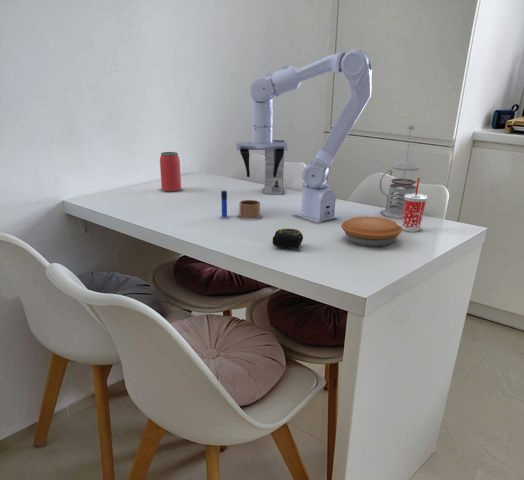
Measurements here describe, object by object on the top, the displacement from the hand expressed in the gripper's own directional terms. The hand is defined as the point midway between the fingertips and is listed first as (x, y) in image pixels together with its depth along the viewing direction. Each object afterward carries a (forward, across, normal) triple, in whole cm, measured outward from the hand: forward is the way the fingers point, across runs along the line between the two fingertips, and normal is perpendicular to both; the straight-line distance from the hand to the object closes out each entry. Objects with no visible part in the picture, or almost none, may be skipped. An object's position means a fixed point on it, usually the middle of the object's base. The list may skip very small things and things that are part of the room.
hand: (261, 176), depth 157 cm
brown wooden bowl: (+10, -4, -6) cm, 12 cm away
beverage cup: (+11, +40, -18) cm, 45 cm away
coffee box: (+11, +7, +28) cm, 30 cm away
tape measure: (+11, +4, -34) cm, 35 cm away
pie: (+11, +26, -28) cm, 40 cm away
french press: (+11, +41, -2) cm, 42 cm away
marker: (+10, -11, -6) cm, 16 cm away
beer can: (+10, -28, +29) cm, 42 cm away
